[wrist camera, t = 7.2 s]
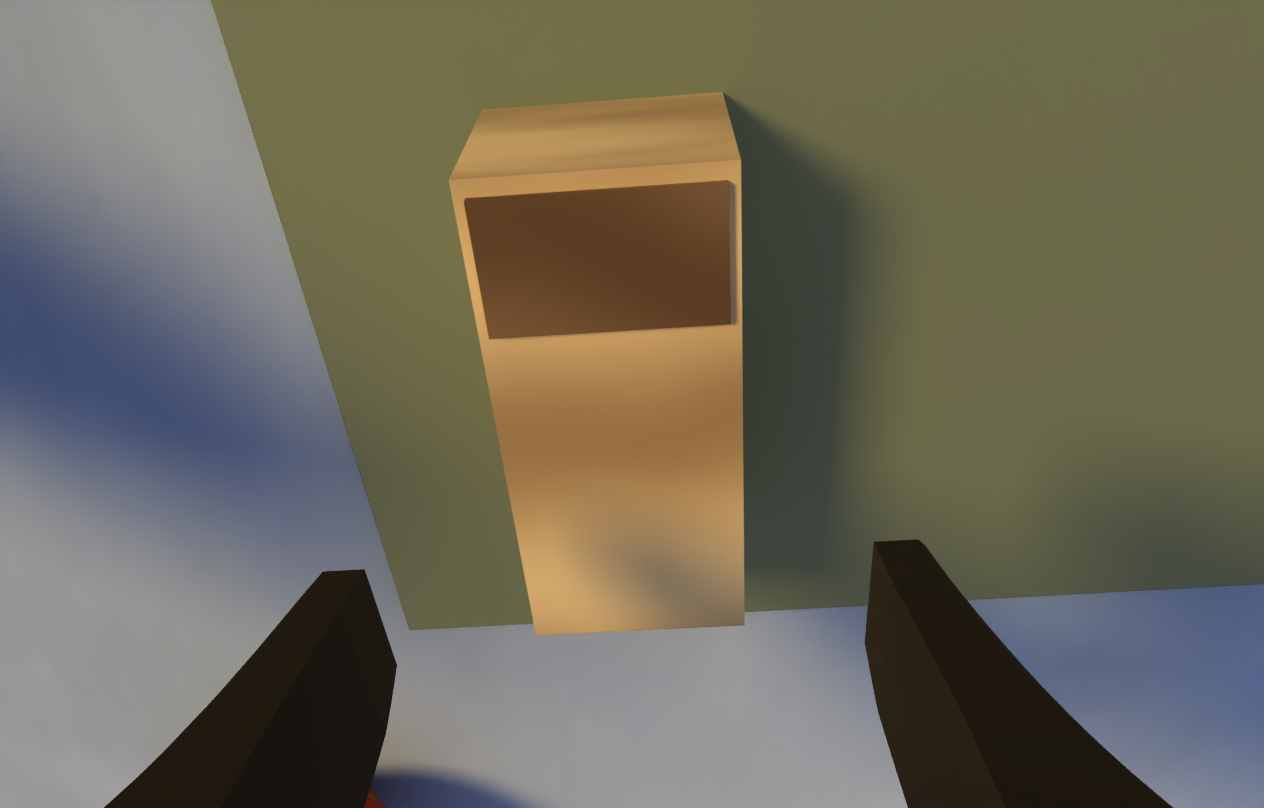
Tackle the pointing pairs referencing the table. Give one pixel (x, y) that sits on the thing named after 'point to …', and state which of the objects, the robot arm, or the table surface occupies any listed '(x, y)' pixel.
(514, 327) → the wooden cubby box
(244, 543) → the table surface
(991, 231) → the rubber mat
